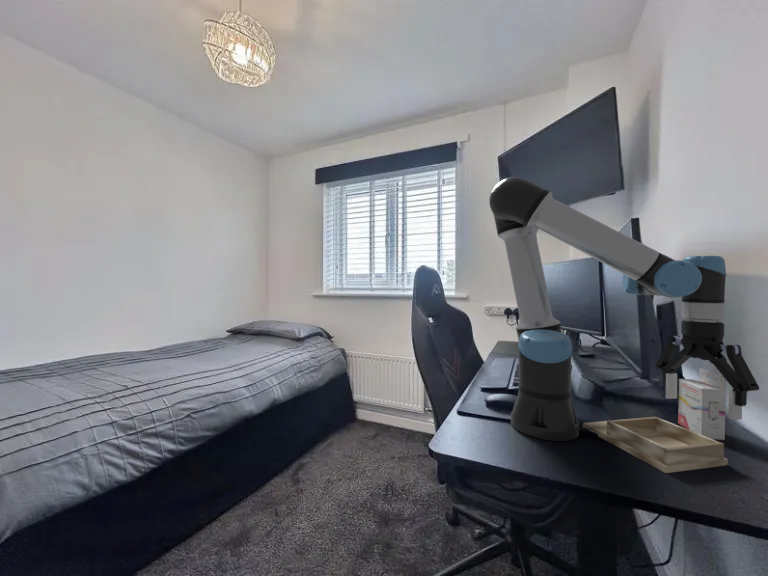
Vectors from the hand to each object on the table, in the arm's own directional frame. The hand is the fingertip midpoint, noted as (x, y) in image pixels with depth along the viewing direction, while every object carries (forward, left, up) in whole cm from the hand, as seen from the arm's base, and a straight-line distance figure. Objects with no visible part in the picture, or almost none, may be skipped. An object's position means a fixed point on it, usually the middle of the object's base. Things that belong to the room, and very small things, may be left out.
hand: (700, 407), depth 81 cm
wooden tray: (+3, -19, -6) cm, 20 cm away
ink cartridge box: (0, 0, -6) cm, 6 cm away
